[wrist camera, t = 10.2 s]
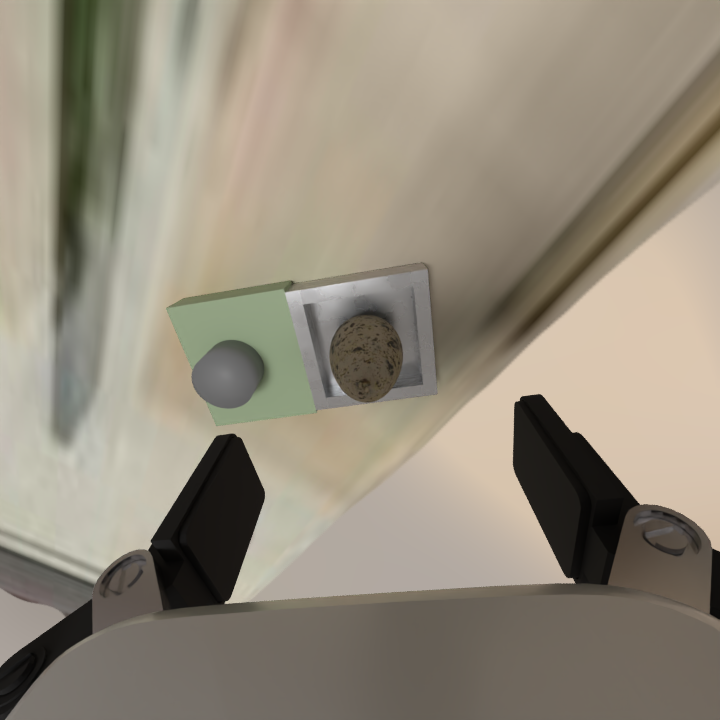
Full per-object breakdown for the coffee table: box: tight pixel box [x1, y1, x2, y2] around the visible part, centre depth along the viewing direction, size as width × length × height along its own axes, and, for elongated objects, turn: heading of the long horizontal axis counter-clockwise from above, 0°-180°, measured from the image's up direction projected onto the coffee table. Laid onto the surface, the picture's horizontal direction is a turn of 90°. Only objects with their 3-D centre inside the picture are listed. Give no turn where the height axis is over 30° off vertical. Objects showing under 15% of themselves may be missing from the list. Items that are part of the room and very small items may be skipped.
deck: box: [166, 281, 317, 426], centre depth 30 cm, size 10×12×6 cm
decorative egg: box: [329, 315, 403, 403], centre depth 27 cm, size 6×6×10 cm
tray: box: [285, 262, 437, 410], centre depth 30 cm, size 11×11×3 cm
